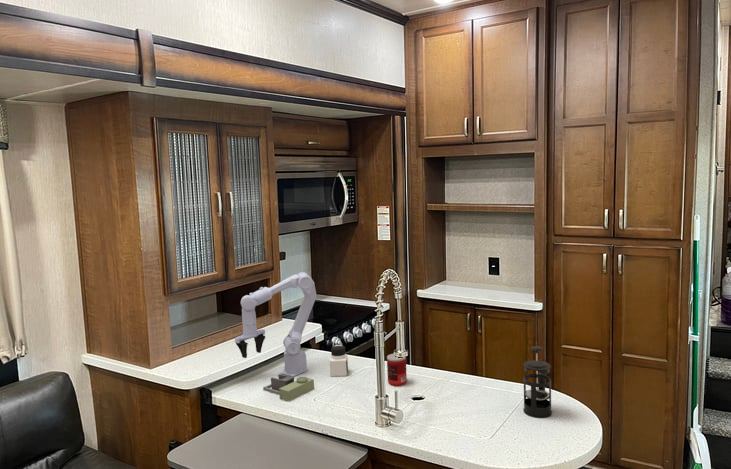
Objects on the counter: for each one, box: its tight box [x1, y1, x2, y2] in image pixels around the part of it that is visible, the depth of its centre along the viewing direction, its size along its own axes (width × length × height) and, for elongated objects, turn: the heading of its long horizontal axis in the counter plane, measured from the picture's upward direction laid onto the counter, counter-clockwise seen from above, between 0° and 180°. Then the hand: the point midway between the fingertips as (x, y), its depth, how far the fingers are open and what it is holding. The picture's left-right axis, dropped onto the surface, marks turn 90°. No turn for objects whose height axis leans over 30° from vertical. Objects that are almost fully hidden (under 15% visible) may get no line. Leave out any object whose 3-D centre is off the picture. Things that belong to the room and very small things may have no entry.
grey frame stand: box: [262, 376, 315, 402], centre depth 209 cm, size 14×17×5 cm
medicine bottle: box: [329, 344, 349, 378], centre depth 225 cm, size 7×7×12 cm
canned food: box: [386, 353, 408, 387], centre depth 212 cm, size 8×8×11 cm
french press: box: [522, 345, 553, 419], centre depth 180 cm, size 12×9×23 cm
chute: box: [270, 373, 295, 391], centre depth 211 cm, size 8×5×5 cm, turn 55°
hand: (251, 354), depth 223 cm, fingers open, 7 cm apart
